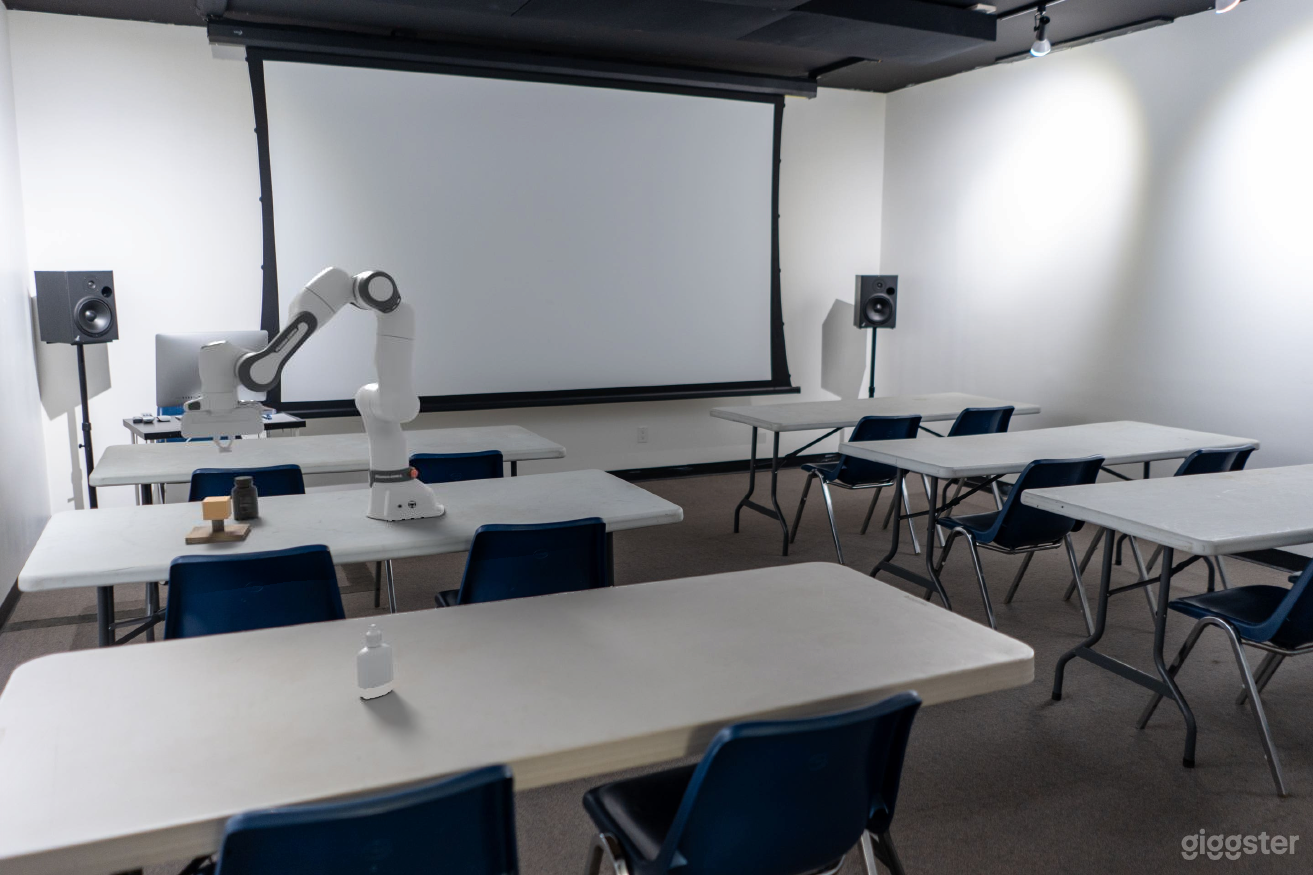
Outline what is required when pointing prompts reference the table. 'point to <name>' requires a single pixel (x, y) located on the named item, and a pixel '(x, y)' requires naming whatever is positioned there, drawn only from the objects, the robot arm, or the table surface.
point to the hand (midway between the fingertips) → (225, 452)
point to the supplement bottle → (244, 499)
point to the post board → (218, 532)
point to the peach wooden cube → (216, 508)
